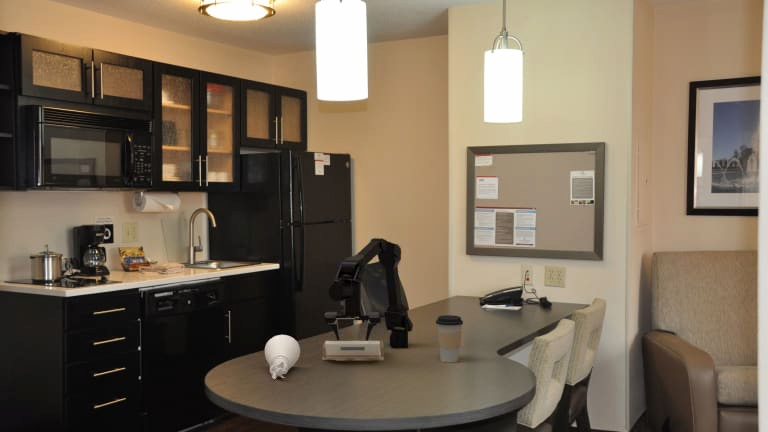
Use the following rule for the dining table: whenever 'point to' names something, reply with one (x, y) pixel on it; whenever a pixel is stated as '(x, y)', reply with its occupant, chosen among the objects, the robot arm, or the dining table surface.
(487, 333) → the dining table surface
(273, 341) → the rocket engine
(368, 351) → the panel
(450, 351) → the coffee cup
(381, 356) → the tray
